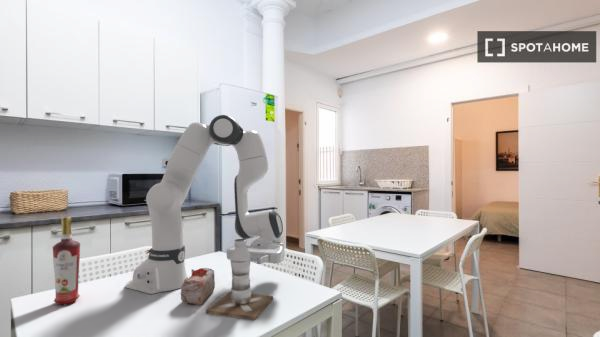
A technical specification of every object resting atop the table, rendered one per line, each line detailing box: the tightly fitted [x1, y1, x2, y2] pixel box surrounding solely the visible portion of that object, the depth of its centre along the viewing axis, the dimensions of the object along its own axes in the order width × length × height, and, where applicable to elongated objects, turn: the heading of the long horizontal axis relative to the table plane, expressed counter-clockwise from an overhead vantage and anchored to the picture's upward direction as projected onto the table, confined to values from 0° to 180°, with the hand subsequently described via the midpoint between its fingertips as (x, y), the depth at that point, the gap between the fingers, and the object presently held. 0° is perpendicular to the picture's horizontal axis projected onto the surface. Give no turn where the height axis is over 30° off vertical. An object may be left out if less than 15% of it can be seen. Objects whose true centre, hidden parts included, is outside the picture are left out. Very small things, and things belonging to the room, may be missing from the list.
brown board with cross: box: [205, 290, 274, 321], centre depth 101 cm, size 16×15×1 cm
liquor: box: [52, 216, 81, 306], centre depth 104 cm, size 7×7×28 cm
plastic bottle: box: [229, 238, 253, 305], centre depth 101 cm, size 6×7×20 cm
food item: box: [180, 267, 216, 306], centre depth 107 cm, size 14×8×10 cm, turn 178°
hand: (245, 260), depth 104 cm, fingers open, 8 cm apart
